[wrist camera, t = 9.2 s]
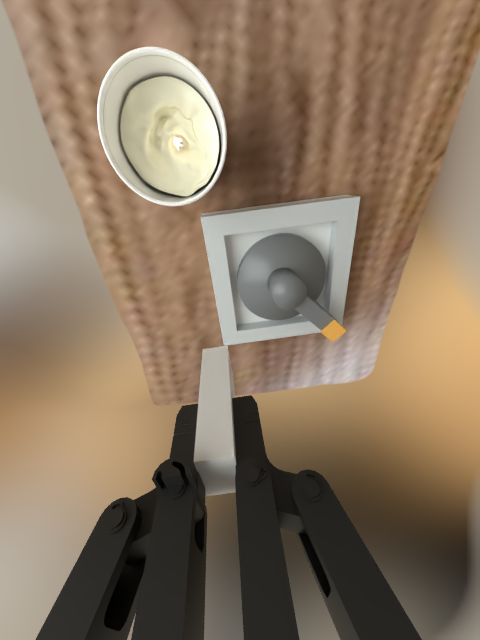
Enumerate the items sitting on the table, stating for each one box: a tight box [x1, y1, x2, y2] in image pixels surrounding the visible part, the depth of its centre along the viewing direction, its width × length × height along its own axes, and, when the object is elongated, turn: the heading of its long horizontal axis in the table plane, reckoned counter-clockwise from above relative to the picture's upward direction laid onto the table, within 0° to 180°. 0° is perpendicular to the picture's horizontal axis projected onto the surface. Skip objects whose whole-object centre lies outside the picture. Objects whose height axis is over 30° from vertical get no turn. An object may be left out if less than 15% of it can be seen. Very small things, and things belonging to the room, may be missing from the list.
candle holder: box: [97, 47, 227, 206], centre depth 23 cm, size 10×10×12 cm
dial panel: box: [201, 195, 360, 346], centre depth 36 cm, size 20×20×4 cm
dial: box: [237, 233, 347, 342], centre depth 34 cm, size 18×13×6 cm
